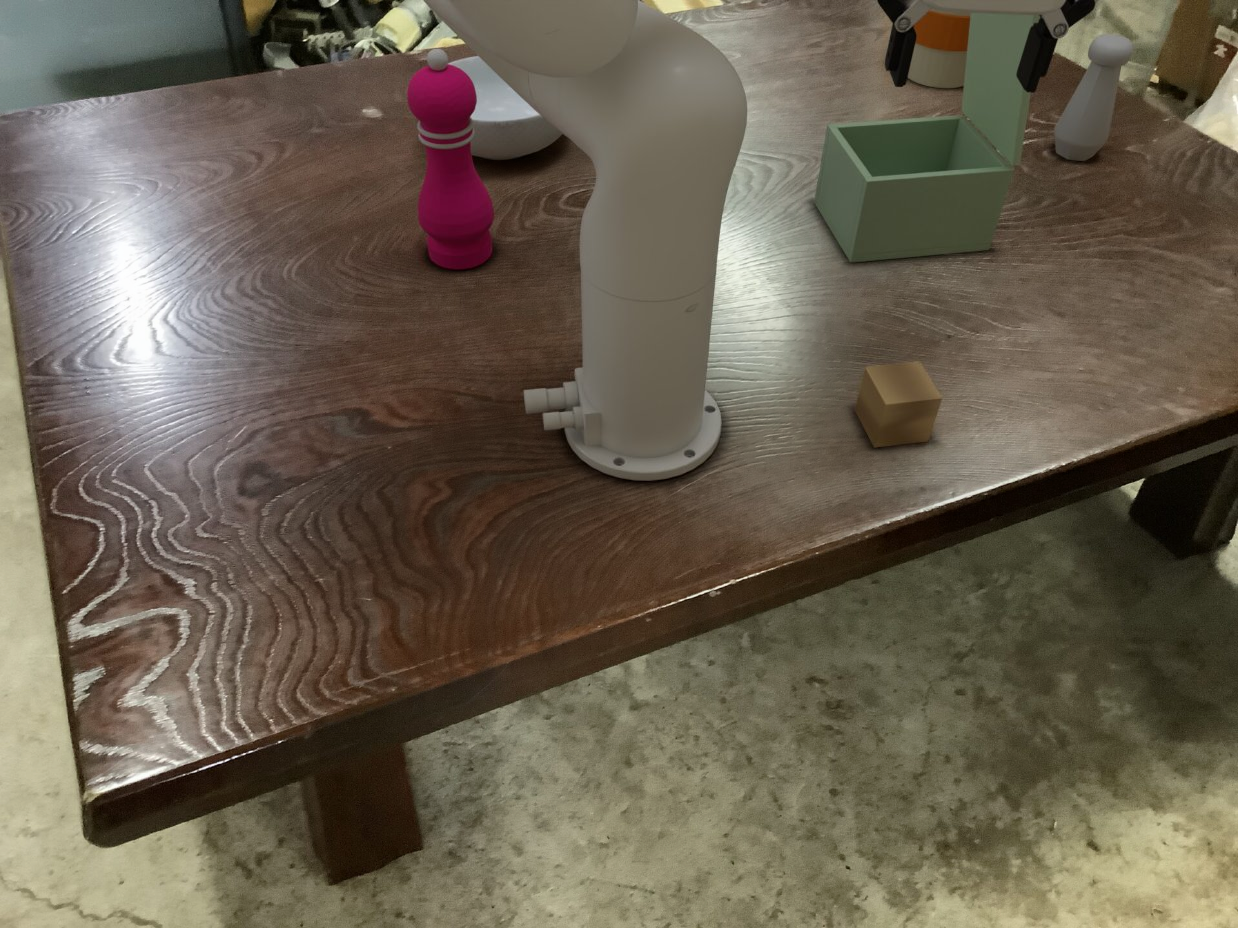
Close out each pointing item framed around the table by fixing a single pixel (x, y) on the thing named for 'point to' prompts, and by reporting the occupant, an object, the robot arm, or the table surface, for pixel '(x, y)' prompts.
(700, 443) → the robot arm
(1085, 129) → the salt shaker
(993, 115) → the lid
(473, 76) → the cereal bowl
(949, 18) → the reusable coffee cup
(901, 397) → the block
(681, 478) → the table surface
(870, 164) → the chest
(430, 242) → the pepper mill
